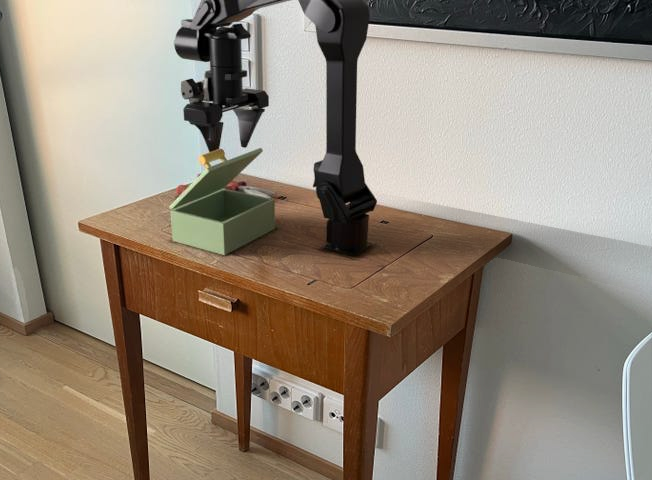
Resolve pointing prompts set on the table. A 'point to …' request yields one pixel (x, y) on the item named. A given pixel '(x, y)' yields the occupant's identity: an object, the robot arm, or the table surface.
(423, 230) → the table surface
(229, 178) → the lid
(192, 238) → the box
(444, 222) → the table surface
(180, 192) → the pliers
